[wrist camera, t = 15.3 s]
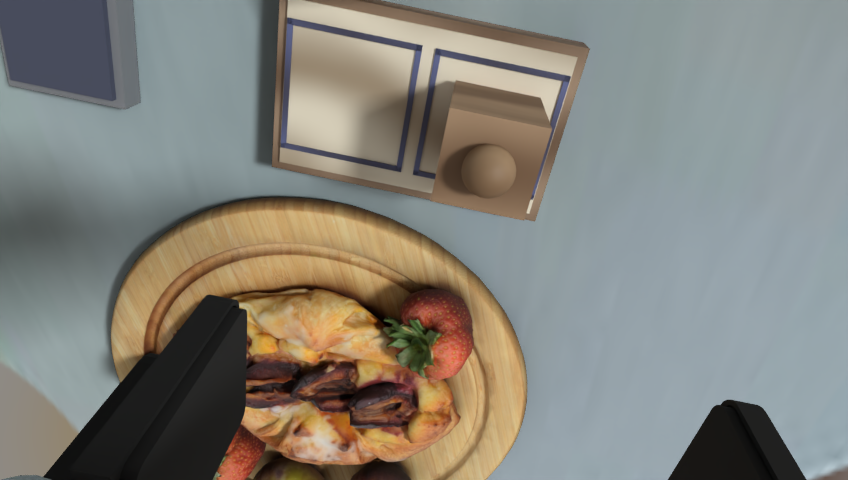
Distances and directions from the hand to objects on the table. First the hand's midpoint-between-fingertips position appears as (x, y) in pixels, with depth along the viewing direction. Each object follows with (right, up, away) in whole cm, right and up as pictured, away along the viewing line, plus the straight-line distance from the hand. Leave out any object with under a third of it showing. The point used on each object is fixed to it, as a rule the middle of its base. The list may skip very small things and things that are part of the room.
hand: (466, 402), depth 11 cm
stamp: (+3, +9, +19) cm, 21 cm away
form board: (-1, +11, +21) cm, 24 cm away
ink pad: (-21, +16, +20) cm, 33 cm away
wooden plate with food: (-9, -7, +32) cm, 35 cm away
